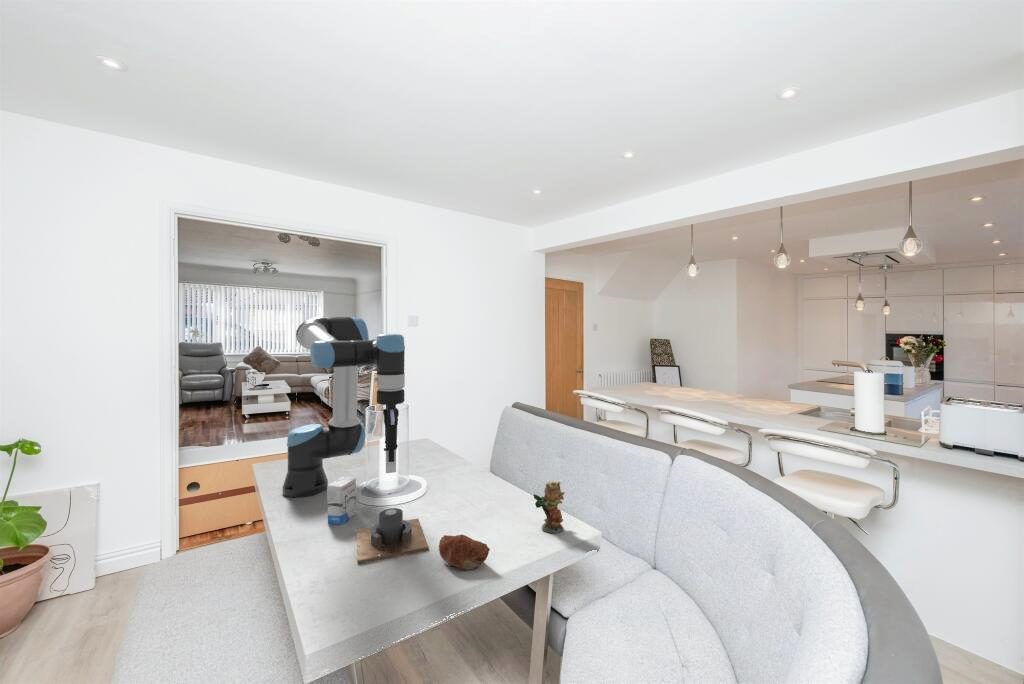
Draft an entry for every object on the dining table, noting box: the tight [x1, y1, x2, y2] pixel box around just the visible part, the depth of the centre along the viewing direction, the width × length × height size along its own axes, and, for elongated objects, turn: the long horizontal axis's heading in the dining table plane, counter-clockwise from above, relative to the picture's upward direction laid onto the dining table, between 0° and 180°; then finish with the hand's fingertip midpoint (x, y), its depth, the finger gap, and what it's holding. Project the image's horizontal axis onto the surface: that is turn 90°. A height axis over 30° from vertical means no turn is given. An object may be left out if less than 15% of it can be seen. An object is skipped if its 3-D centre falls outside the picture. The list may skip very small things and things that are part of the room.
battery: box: [378, 507, 404, 543], centre depth 117 cm, size 6×6×7 cm
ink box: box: [326, 476, 357, 525], centre depth 131 cm, size 9×5×12 cm, turn 168°
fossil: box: [438, 534, 491, 570], centre depth 107 cm, size 13×8×10 cm
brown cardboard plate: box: [356, 518, 430, 565], centre depth 117 cm, size 18×18×4 cm
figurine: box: [533, 480, 566, 534], centre depth 124 cm, size 9×8×15 cm
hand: (390, 471), depth 117 cm, fingers closed
